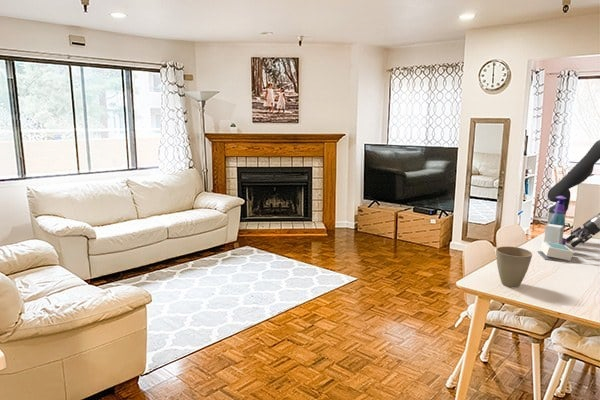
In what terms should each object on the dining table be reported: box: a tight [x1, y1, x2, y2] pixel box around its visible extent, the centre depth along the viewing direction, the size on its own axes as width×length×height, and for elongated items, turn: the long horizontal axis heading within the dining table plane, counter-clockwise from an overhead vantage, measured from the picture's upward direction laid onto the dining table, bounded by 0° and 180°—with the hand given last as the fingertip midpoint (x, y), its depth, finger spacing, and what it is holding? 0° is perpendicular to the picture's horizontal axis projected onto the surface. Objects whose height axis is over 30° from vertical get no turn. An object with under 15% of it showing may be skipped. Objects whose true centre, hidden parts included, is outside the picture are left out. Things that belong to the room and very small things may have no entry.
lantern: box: [550, 196, 567, 245], centre depth 265 cm, size 13×12×30 cm
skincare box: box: [543, 223, 565, 245], centre depth 256 cm, size 8×6×15 cm
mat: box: [537, 250, 570, 263], centre depth 245 cm, size 14×11×1 cm
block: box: [539, 240, 574, 261], centre depth 244 cm, size 12×5×12 cm
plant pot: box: [495, 245, 533, 288], centre depth 203 cm, size 15×15×16 cm
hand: (569, 243), depth 242 cm, fingers open, 8 cm apart
